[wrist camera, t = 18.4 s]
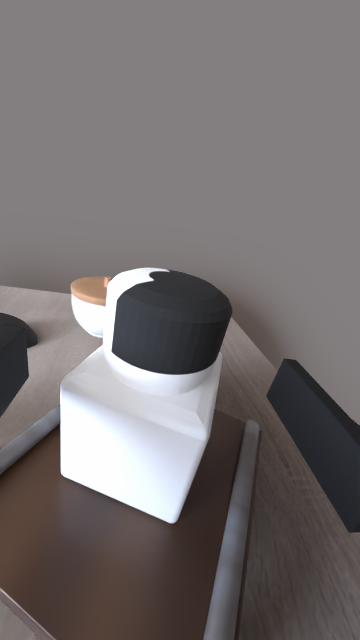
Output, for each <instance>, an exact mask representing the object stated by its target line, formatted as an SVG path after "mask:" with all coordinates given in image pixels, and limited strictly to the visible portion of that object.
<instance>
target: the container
mask: <svg viewBox="0 0 360 640" xmlns="http://www.w3.org/2000/svg"><path fill="white" fill-rule="evenodd" d="M231 315H232V307H231V304H230V302H229V299H228V298H227V297H226V296H225V295H224V294H223V293H222V292H221V291H220V290H218V289H217V288H216V287H215V286H213V285H212V284H210V283H208V282H207V281H205V280H202V279H200V278H198V277H195V276H192V275H189V274H185V273H182V272H177V271H172V270H166V269H159V268H139V269H135V270H130V271H126V272H123V273H120V274H118V275H117V276H116V277H115V278H113V279H112V280H111V281H110V282H109V284H108V288H107V300H106V311H105V323H104V335H103V345H102V346H101V347H100V348H98V349H97V350H96V351H95V352H94V353H92V354H91V355H90V356H89V357H88V358H86V359H85V360H84V361H83V362H82V363H80V364H79V365H78V366H77V367H76V368H75V369H73V370H72V371H71V372H70V373H69V374H67V375H66V376H65V377H64V378H63V379H62V381H61V383H60V406H61V474H62V475H63V476H64V477H66V478H69V479H71V480H73V481H75V482H78V483H80V484H82V485H84V486H87V487H89V488H91V489H93V490H96V491H98V492H100V493H103V494H105V495H107V496H109V497H112V498H114V499H116V500H118V501H121V502H123V503H125V504H128V505H130V506H132V507H134V508H137V509H139V510H141V511H143V512H146V513H148V514H150V515H153V516H155V517H157V518H159V519H162V520H164V521H166V522H168V523H175V522H176V521H177V520H178V518H179V516H180V513H181V510H182V508H183V505H184V503H185V500H186V497H187V495H188V492H189V489H190V487H191V484H192V482H193V479H194V476H195V474H196V471H197V469H198V466H199V463H200V461H201V458H202V455H203V453H204V450H205V448H206V445H207V442H208V440H209V437H210V433H211V427H212V420H213V414H214V408H215V402H216V396H217V390H218V384H219V378H220V372H221V366H222V360H223V355H222V354H221V353H220V352H219V351H220V348H221V345H222V342H223V339H224V336H225V333H226V330H227V327H228V324H229V321H230V318H231Z"/></svg>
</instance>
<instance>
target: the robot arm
mask: <svg viewBox="0 0 360 640" xmlns="http://www.w3.org/2000/svg"><path fill="white" fill-rule="evenodd" d="M28 377H29V372H28V359H27V346H26V333H25V328H18V327H10V326H6V327H4V328H3V329H2V330H1V331H0V417H1V416H2V414H3V413H4V412H5V410H6V409H7V407H8V406H9V404H10V403H11V402H12V400H13V399H14V397H15V396H16V394H17V393H18V391H19V390H20V389H21V387H22V386H23V384H24V383H25V381H26V380H27V379H28ZM266 396H267V398H268V400H269V401H270V403H271V404H272V406H273V408H274V409H275V411H276V413H277V414H278V416H279V418H280V419H281V421H282V423H283V424H284V426H285V428H286V429H287V431H288V433H289V434H290V436H291V437H292V439H293V441H294V442H295V444H296V446H297V447H298V449H299V451H300V452H301V454H302V456H303V457H304V459H305V461H306V462H307V464H308V465H309V467H310V469H311V470H312V472H313V474H314V475H315V477H316V479H317V480H318V482H319V484H320V485H321V487H322V489H323V490H324V492H325V493H326V495H327V497H328V498H329V500H330V502H331V503H332V505H333V507H334V508H335V510H336V512H337V513H338V515H339V517H340V518H341V520H342V522H343V523H344V525H345V526H346V528H347V530H348V531H349V533H352V532H360V425H358V424H357V423H356V422H354V421H353V420H352V419H351V418H350V417H348V415H347V414H346V413H345V412H344V411H343V410H342V409H341V408H340V407H339V405H338V404H337V403H336V402H335V401H334V400H333V399H332V398H331V397H330V396H329V395H328V394H327V393H326V392H325V391H324V389H323V388H321V386H320V385H319V384H318V383H317V382H316V381H315V380H314V379H313V378H312V377H311V376H310V374H309V373H308V372H307V371H306V370H305V369H304V368H303V367H302V366H301V365H300V364H299V363H298V362H297V361H296V360H291V359H284V360H283V362H282V364H281V366H280V368H279V370H278V372H277V374H276V377H275V379H274V381H273V383H272V385H271V387H270V389H269V391H268V393H267V395H266Z"/></svg>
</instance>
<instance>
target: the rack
mask: <svg viewBox="0 0 360 640" xmlns="http://www.w3.org/2000/svg"><path fill="white" fill-rule="evenodd" d="M259 429H260V426H259V424H258V422H256V421H255V420H248V421H247V422H246V424H245V423H243V422H241V421H239V420H237V419H235V418H233V417H230V416H228V415H226V414H224V413H222V412H220V411H218V410H215V409H214V414H213V420H212V427H211V433H210V437H209V440H208V442H207V445H206V448H205V450H204V453H203V455H202V458H201V461H200V463H199V466H198V469H197V471H196V474H195V476H194V479H193V482H192V484H191V487H190V489H189V492H188V495H187V497H186V500H185V503H184V505H183V508H182V510H181V513H180V516H179V518H178V520H177V521H176V522H175V523H168V522H166V521H164V520H162V519H159V518H157V517H155V516H153V515H150V514H148V513H146V512H143V511H141V510H139V509H137V508H134V507H132V506H130V505H128V504H125V503H123V502H121V501H118V500H116V499H114V498H112V497H109V496H107V495H105V494H103V493H100V492H98V491H96V490H93V489H91V488H89V487H87V486H84V485H82V484H80V483H78V482H75V481H73V480H71V479H69V478H66V477H64V476H63V475H62V474H61V406H60V404H59V405H58V406H56V407H55V408H54V409H52V410H51V411H50V412H48V413H47V414H46V415H44V416H43V417H42V418H40V419H39V420H38V421H37V422H35V423H34V424H33V425H31V426H30V427H29V428H27V429H26V430H25V431H23V432H22V433H21V434H19V435H18V436H17V437H15V438H14V439H13V440H12V441H10V442H9V443H8V444H6V445H5V446H4V447H2V448H1V449H0V600H1V601H2V602H3V603H4V604H5V605H6V606H7V607H8V608H9V609H10V610H11V611H12V612H13V613H14V614H15V615H16V616H18V617H19V618H20V619H21V620H22V621H23V622H24V623H25V624H26V625H27V626H28V627H29V628H30V629H31V630H32V631H33V632H34V633H35V634H36V635H37V636H38V637H39V638H40V639H42V640H239V635H240V626H241V617H242V607H243V598H244V589H245V580H246V571H247V561H248V552H249V543H250V534H251V525H252V515H253V506H254V497H255V488H256V478H257V469H258V460H259V451H260V442H261V431H260V430H259Z"/></svg>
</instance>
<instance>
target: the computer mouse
mask: <svg viewBox="0 0 360 640" xmlns="http://www.w3.org/2000/svg"><path fill="white" fill-rule="evenodd" d="M6 326H10V327H18V328H25V333H26V346H27V348H28V347H32V346H34V345H35V344H37V342H38V341H37V335H36V334H35V333H34V331H33V330H32V329H31V328H30V327H29V326H28V325H27V324H26V323H25V322H24V321H22V320H20V319H18V318H16V317H14V316H11V315H8V314H4V313H0V331H1V330H2V329H3V328H4V327H6Z"/></svg>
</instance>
